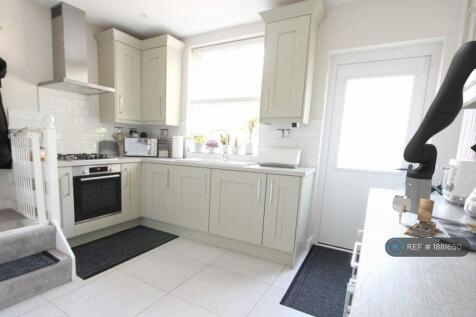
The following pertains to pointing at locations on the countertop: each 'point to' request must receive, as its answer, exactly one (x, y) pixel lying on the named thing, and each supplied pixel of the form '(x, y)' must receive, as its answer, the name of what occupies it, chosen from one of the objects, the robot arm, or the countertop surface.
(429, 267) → the countertop surface
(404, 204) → the wineglass
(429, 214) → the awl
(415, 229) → the plank
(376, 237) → the countertop surface
